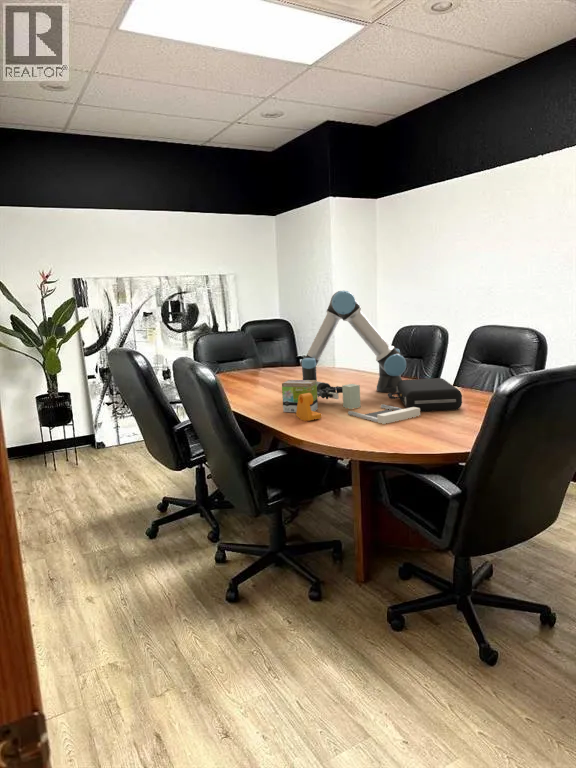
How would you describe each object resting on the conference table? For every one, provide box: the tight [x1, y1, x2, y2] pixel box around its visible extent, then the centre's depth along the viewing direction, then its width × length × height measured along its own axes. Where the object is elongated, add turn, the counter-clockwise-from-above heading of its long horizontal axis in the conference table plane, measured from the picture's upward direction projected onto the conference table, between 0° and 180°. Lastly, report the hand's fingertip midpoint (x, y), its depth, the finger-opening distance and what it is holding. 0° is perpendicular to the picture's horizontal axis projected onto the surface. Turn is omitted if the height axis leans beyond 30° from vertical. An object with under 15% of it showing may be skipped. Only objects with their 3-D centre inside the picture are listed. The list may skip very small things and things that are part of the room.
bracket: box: [295, 393, 322, 422], centre depth 247 cm, size 11×7×12 cm, turn 29°
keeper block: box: [341, 383, 361, 410], centre depth 265 cm, size 6×6×11 cm
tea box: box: [281, 379, 319, 413], centre depth 264 cm, size 15×10×15 cm, turn 70°
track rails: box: [347, 403, 403, 423], centre depth 247 cm, size 21×21×2 cm
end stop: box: [376, 407, 421, 425], centre depth 237 cm, size 21×4×4 cm, turn 121°
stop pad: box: [365, 409, 392, 418], centre depth 245 cm, size 16×15×1 cm
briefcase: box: [387, 377, 463, 412], centre depth 264 cm, size 36×32×10 cm
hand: (348, 394), depth 266 cm, fingers open, 13 cm apart
